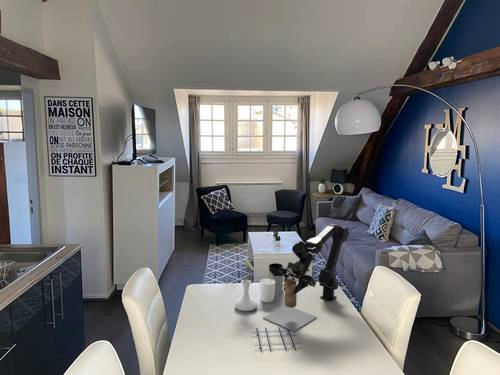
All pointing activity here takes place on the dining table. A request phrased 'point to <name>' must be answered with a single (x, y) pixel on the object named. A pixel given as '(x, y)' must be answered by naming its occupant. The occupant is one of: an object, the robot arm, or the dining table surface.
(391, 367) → the dining table surface
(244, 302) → the flower in vase
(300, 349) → the dining table surface
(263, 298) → the white cup
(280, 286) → the grey pitcher
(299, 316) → the slate tile
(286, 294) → the pepper mill
